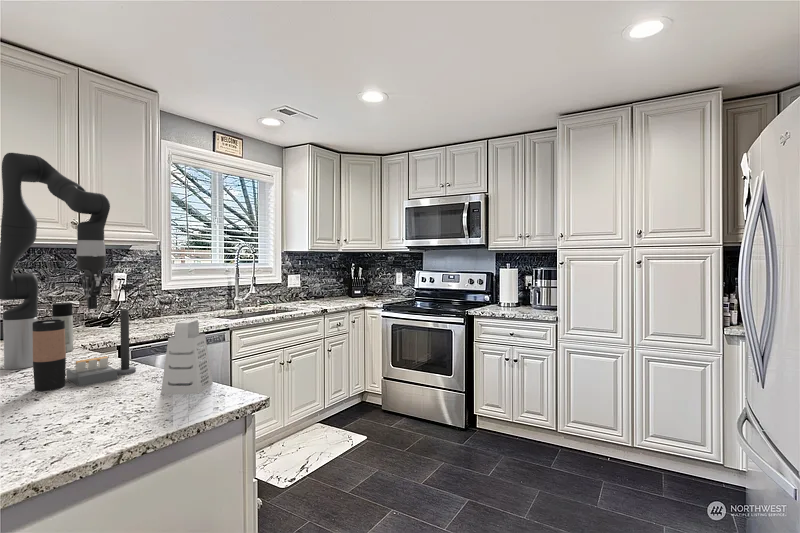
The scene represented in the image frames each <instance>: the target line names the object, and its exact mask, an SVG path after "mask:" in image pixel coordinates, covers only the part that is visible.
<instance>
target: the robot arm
mask: <svg viewBox="0 0 800 533" xmlns="http://www.w3.org/2000/svg"><path fill="white" fill-rule="evenodd" d="M22 182H23V183H24V182H25V183H41V184H45V185H46V186H47V188H48V191H49V192H50V193H51V194H52V195H53V196H54V197H56V198H57V199H58V200H60V201H62V202H64V203H65V204H66V205H67V207H69V208H68V209H70V210H71V211H73V212H75V213H77V214H82V215H90V217H89V218H88V219H89V220H88V221H87V220H86V221H81V222H79V223H78V224H77V228H76V230H77V232H76V235H77V236H76V240H77V242H76V269H77V270H79V271H84V273H83V275H82V278H81V281H80V283H82V284H81V286H82V288H83V292H84V295H85V296H86V300H87V304H86V305H87V309H89V310H96V309H97V308H98V298H99V296H100V295H101V292H102V287H103V283H104V282H103V280H102V277H101V275H100V270H101V271H102V270H106V268H107V265H106V264H107V260H106V258H107V257H106V254H107V253H106V244H105V226H106V224H107V219H108V216H109V213H110V209H111V203H110V200H109V198H108V197H107V195H105V194H103V193H98V192H90V191H86V189H85V188H84V187H83V186H82V185H81V184H79V183H77V182H75V181H73V180H72V179H69V178H68V177H66V176H65V175H63V174H62V173H61V172H59V171H58V170H57V169H56V168H55V167H54V166H52V165H51V164H50V163H49V162H48V161H47V160H45V159H44V158H42V157H41V156H38V155H34V154H26V153H20V152H7V153H6V154H4V155H3V158H2V162H1V184H2V185H1V186H2V210H1V211H2V212H1V222H0V300H1V301H13V300H23V302H22V303H21V304H19V305H17V306H15V307H12V308H9V309H6V310H4V311H3V312H2V326H3V327H2V330H3V331H2V332H3V335H2V336H3V367H4V369H5V370H18V369H19V370H21V369H27V368H33V327H32V324H33V322H36V321H38V308H39V307H38V305H39V304H38V303H39V302H38V301H39V298H38V297H39V280H38V277H37V275H36V274H35V273H32V272H31V273H30V272H29V273H27V272H25V273H24V272H23V273H22V272H20V273H13V271H14V268H15V266H16V264H17V262H18V261H19V260H20V258H21V257H22V256H23V255H24V254H25V253H26V252H27V251H28V250H29V249H30V248H31V247H32V246H33V245H34V243H35V241H36V240H37V231H38V230H37V229H38V220H37V218H36V216H35V214H34V213H33V210H32V209H31V208H30V207H29V205H28V203H26V201H25V199H24V196H23V193H22Z"/></svg>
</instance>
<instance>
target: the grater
mask: <svg viewBox="0 0 800 533" xmlns="http://www.w3.org/2000/svg"><path fill="white" fill-rule="evenodd" d="M199 323H200V322H199V321H198V320H197V319H192V320H191V319H186V320H185V319H184V320H181V321H178V322H176V323H175V325H174V336H170V337H168V339H167V346H166V353H165V361H164V368H163V373H162V374H163V375H162V383H161V390H160V395H198V394H201V393H202V392H203V391H204V390H206V388H208V387H209V386H211V385H213V382H214V381H213V375H212V369H211V365H210V364H211V363H210V358H209V349H208V345H207V339H206V333H199V332H200V326H199ZM178 384H190V385H178Z"/></svg>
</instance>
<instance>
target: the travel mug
mask: <svg viewBox="0 0 800 533" xmlns="http://www.w3.org/2000/svg"><path fill="white" fill-rule="evenodd" d="M32 327H33V366H32V369H33V384H34V385H33V386H34V391H35V392H49V391H55V390H59V389H61V388H64V387H65V386H66V375H67V373H66V369H67V368H66V367H67V366H66V363H67V355H66V354H67V352H66V348H65V320H64V321H61V320H59V319H56V320H52V319H44V320H37V321H36V322H33V324H32Z"/></svg>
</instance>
